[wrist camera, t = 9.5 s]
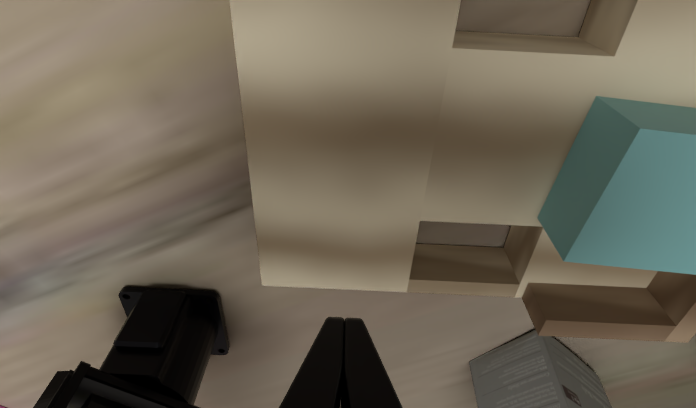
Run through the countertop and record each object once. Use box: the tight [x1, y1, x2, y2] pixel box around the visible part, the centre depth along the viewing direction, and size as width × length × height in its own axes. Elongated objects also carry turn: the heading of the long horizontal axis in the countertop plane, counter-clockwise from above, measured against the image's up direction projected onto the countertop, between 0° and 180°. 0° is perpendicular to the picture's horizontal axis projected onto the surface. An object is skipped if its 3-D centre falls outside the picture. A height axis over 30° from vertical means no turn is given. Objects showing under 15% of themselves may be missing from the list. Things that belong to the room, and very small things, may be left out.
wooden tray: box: [229, 0, 696, 342], centre depth 17 cm, size 18×22×6 cm
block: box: [537, 96, 696, 275], centre depth 16 cm, size 6×6×3 cm
